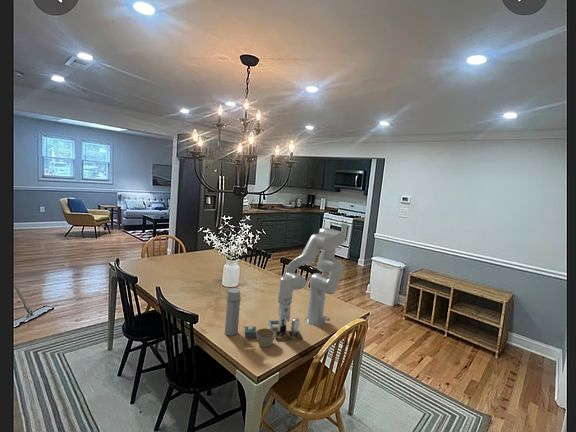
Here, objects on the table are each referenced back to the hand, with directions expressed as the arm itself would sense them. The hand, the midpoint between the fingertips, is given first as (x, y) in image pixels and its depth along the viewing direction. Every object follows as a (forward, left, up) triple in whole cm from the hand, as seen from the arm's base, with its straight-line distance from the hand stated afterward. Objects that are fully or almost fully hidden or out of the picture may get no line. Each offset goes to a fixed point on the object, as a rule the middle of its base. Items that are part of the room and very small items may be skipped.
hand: (282, 330), depth 170 cm
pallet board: (-4, 0, -5) cm, 6 cm away
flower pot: (+10, +7, -5) cm, 13 cm away
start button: (+17, -3, -3) cm, 17 cm away
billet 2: (-7, 0, -4) cm, 8 cm away
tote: (+1, -11, -5) cm, 13 cm away
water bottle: (+27, -5, -5) cm, 28 cm away
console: (+17, -3, -5) cm, 18 cm away
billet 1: (0, 0, -3) cm, 3 cm away
